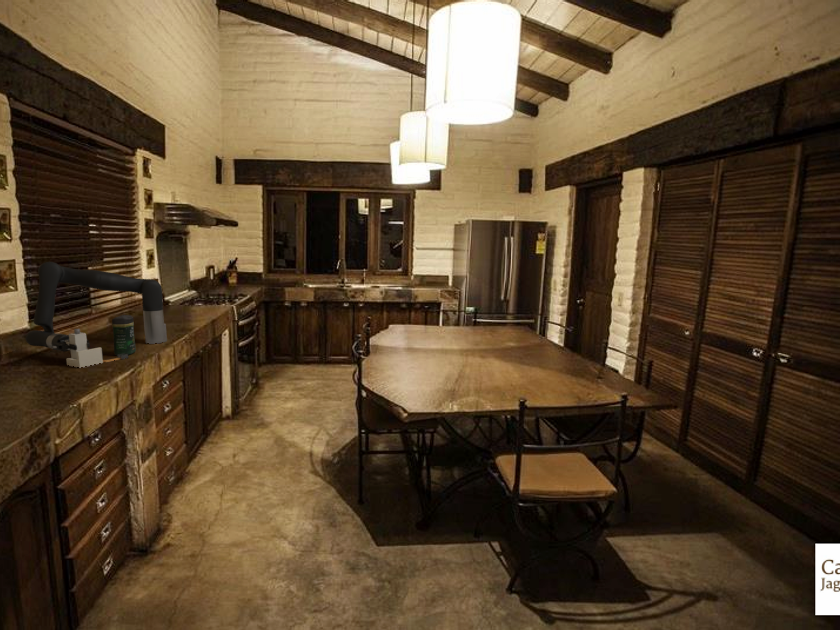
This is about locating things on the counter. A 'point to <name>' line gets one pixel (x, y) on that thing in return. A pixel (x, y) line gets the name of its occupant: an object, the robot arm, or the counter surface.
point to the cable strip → (111, 360)
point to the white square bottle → (78, 342)
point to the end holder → (86, 358)
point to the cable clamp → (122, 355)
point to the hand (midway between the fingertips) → (82, 346)
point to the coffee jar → (123, 334)
